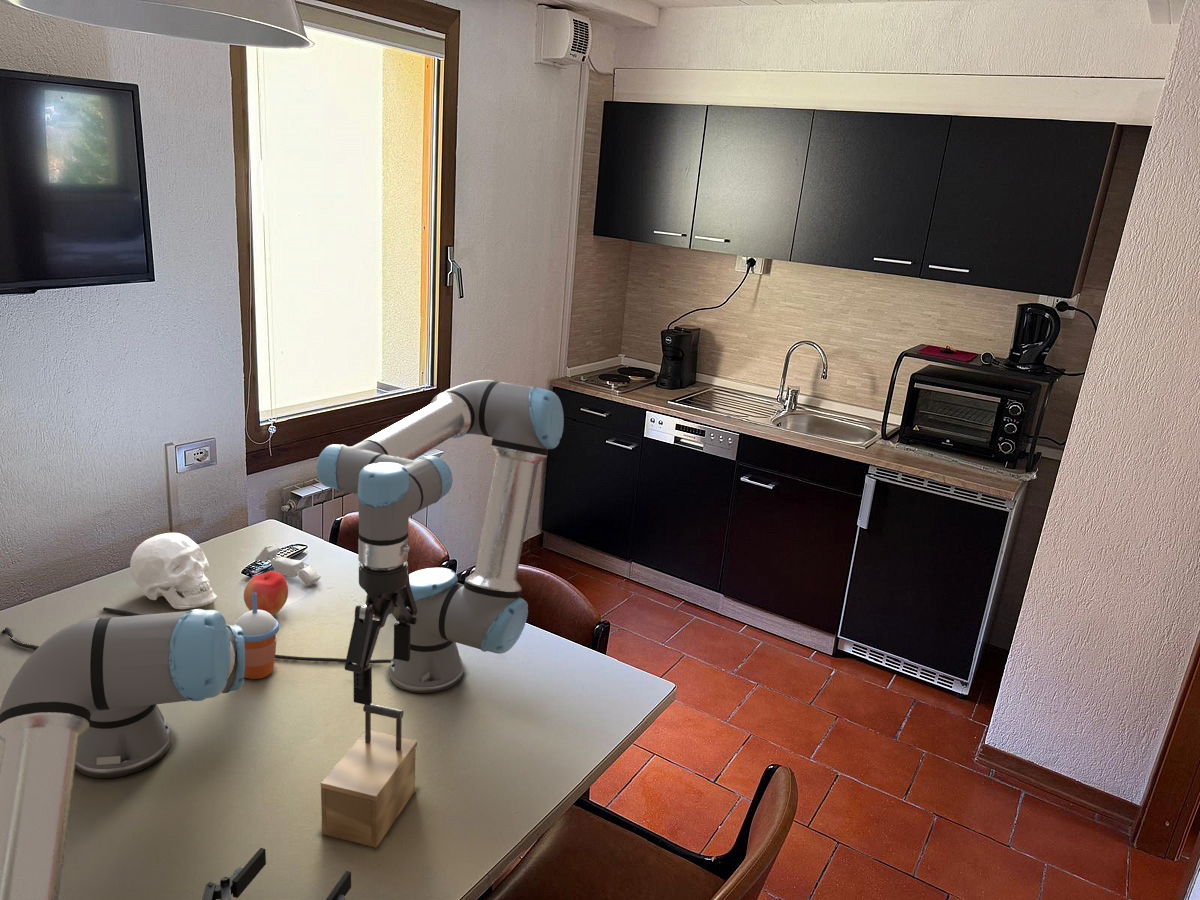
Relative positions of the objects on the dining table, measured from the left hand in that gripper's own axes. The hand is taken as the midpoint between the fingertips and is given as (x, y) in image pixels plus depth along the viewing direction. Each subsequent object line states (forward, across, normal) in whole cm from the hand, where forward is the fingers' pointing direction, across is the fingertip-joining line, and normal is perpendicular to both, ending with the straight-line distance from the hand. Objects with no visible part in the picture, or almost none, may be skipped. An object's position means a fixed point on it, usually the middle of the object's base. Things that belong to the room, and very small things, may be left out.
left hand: (305, 867), depth 122 cm
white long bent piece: (+90, -61, -6) cm, 109 cm away
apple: (+70, -54, -6) cm, 89 cm away
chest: (+19, 0, -6) cm, 20 cm away
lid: (+20, 0, +3) cm, 20 cm away
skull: (+70, -78, -6) cm, 105 cm away
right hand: (+24, 0, +16) cm, 29 cm away
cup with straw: (+49, -42, -6) cm, 65 cm away
